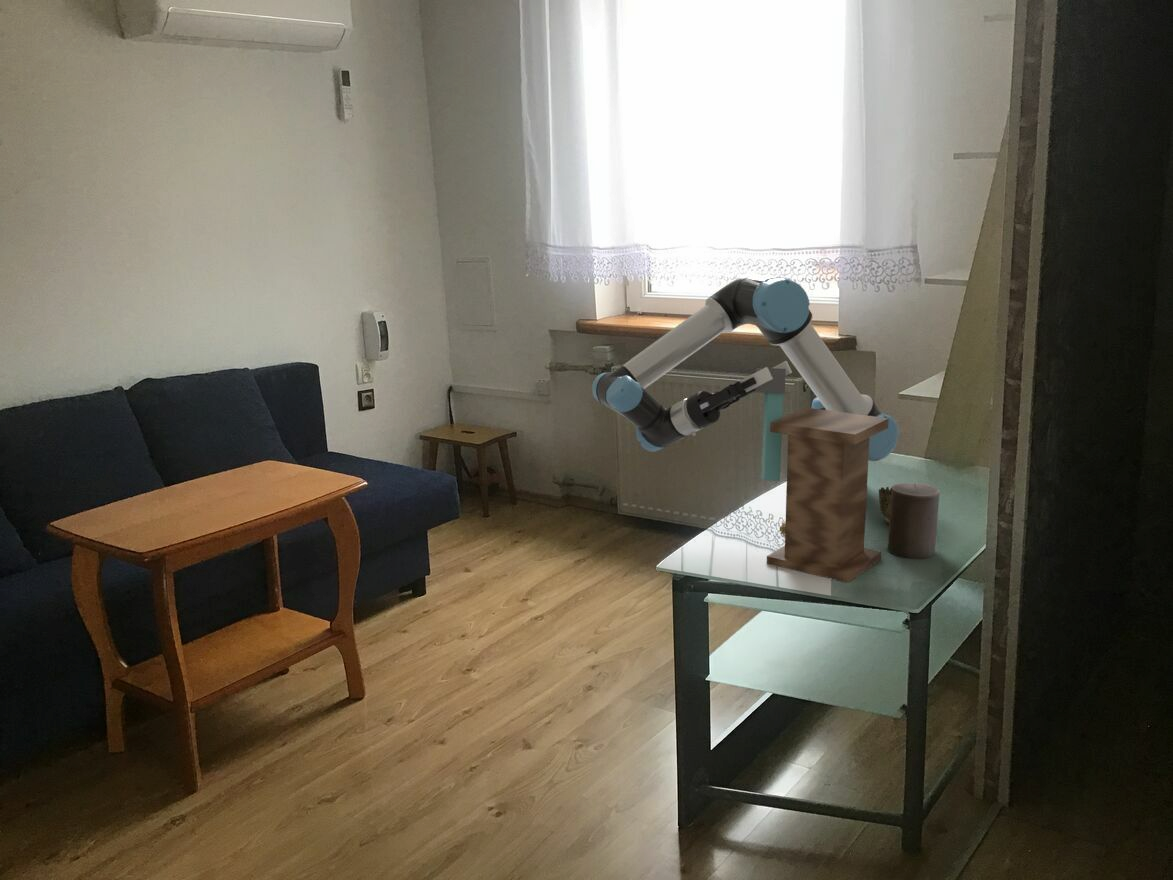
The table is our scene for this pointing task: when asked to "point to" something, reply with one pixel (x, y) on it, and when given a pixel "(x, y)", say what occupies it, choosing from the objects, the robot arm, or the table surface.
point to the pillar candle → (913, 520)
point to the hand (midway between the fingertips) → (778, 370)
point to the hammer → (771, 413)
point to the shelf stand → (826, 492)
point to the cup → (885, 502)
